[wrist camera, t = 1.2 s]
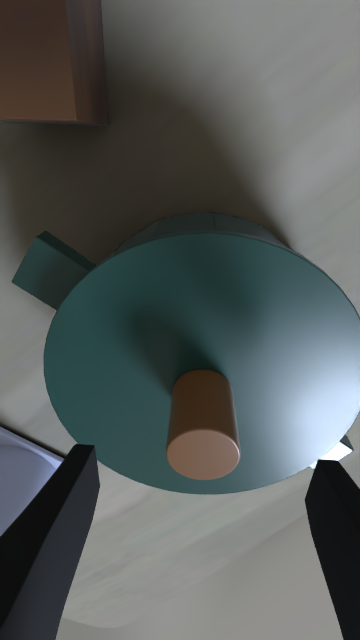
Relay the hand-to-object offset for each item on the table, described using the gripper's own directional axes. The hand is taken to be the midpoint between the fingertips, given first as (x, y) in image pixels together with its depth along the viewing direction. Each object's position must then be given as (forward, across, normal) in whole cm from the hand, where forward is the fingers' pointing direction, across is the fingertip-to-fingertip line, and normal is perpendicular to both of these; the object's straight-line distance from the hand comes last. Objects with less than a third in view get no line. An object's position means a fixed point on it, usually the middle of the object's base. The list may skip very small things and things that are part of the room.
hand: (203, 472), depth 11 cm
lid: (+4, 0, 0) cm, 4 cm away
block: (+10, +7, -12) cm, 18 cm away
